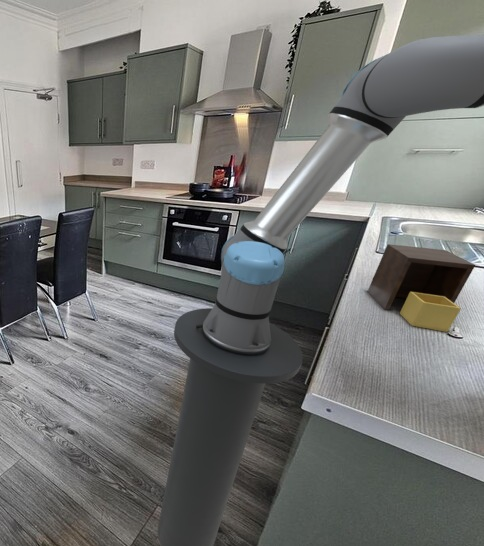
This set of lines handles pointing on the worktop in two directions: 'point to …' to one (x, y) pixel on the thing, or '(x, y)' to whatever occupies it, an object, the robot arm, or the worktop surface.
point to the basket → (429, 311)
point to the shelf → (418, 274)
